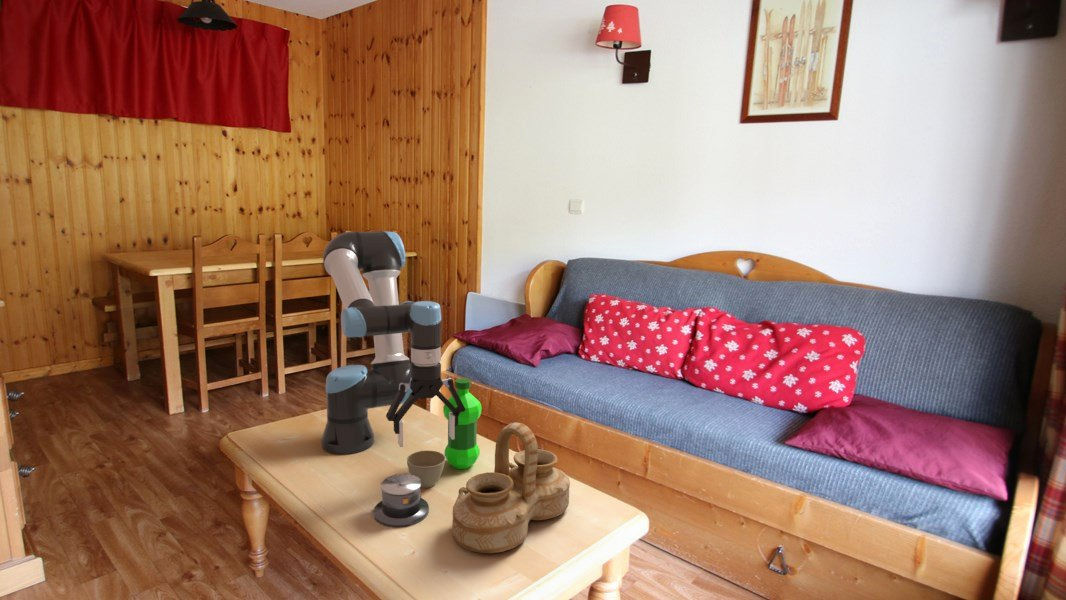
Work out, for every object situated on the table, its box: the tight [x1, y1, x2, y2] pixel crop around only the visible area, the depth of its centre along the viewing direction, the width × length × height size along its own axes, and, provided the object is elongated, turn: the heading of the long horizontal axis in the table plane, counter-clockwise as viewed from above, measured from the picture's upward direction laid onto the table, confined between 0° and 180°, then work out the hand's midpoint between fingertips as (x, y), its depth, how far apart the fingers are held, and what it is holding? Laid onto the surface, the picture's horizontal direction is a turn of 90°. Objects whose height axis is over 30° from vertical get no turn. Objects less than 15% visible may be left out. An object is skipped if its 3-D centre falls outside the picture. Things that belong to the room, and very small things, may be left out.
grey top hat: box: [373, 473, 430, 528], centre depth 148 cm, size 13×13×8 cm
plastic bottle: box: [442, 377, 482, 470], centre depth 171 cm, size 10×10×25 cm
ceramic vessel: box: [451, 421, 571, 554], centre depth 145 cm, size 34×18×25 cm, turn 144°
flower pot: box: [406, 450, 446, 489], centre depth 162 cm, size 10×10×7 cm
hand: (426, 441), depth 160 cm, fingers open, 13 cm apart
